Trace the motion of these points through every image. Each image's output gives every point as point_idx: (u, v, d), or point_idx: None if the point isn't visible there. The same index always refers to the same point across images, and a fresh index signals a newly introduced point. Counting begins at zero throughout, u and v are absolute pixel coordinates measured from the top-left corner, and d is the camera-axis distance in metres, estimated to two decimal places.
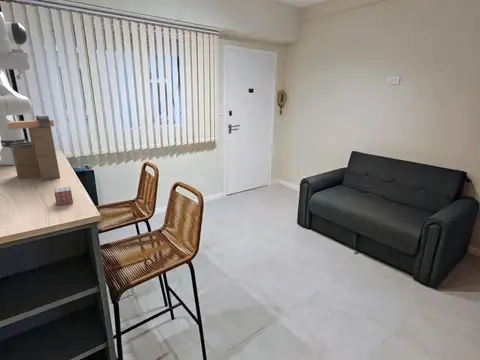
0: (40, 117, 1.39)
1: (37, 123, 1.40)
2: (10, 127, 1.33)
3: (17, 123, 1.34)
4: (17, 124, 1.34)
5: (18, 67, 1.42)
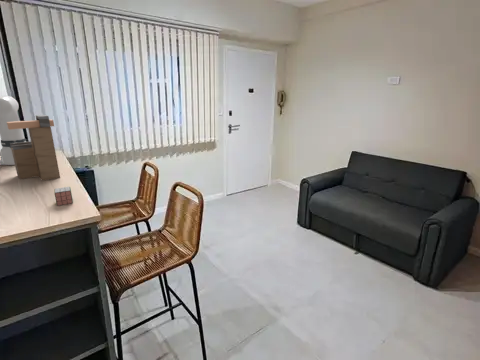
0: (40, 117, 1.39)
1: (37, 123, 1.40)
2: (10, 127, 1.33)
3: (17, 123, 1.34)
4: (17, 124, 1.34)
5: None
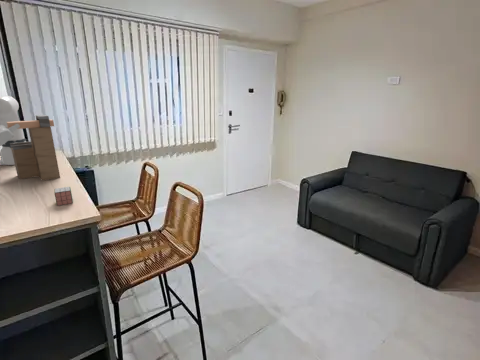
0: (40, 117, 1.39)
1: (37, 123, 1.40)
2: None
3: (17, 123, 1.34)
4: None
5: (1, 126, 1.36)
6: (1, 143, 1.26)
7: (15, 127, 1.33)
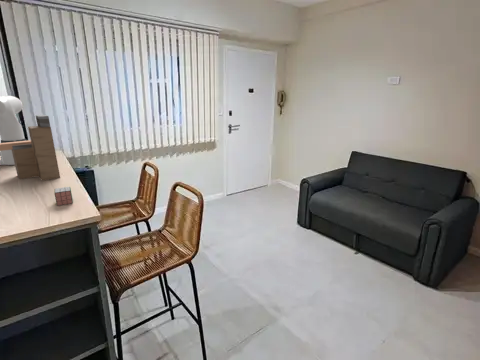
0: (40, 117, 1.39)
1: (27, 143, 1.47)
2: (0, 148, 1.40)
3: (7, 144, 1.41)
4: (7, 145, 1.41)
5: None
6: None
7: None
